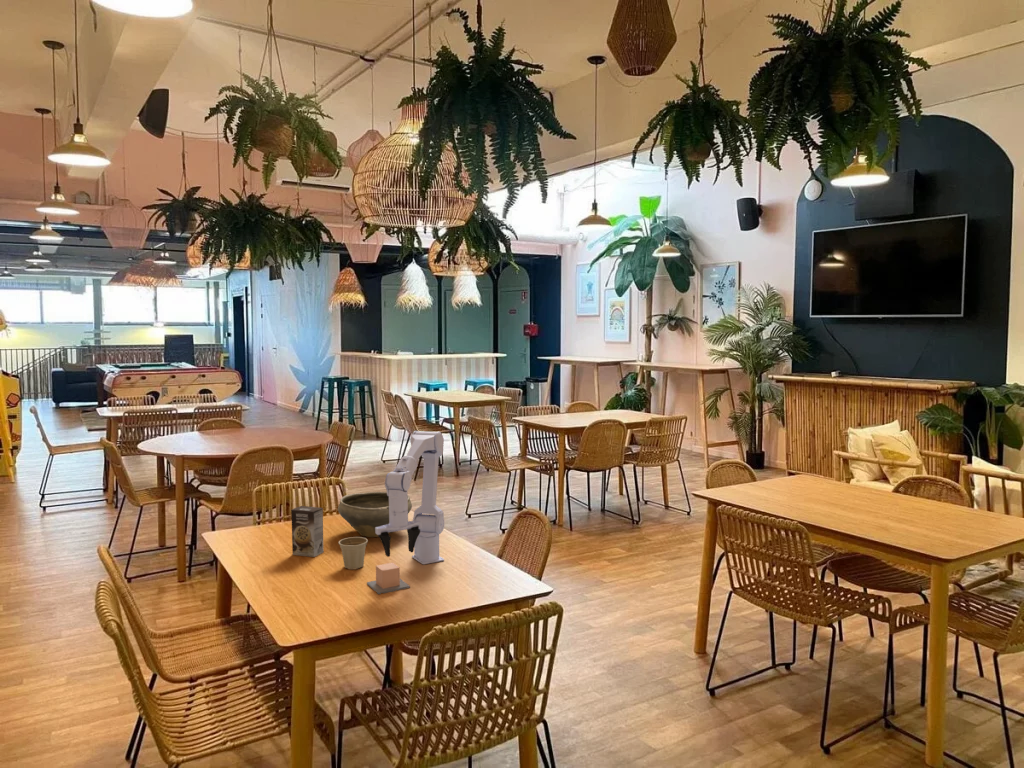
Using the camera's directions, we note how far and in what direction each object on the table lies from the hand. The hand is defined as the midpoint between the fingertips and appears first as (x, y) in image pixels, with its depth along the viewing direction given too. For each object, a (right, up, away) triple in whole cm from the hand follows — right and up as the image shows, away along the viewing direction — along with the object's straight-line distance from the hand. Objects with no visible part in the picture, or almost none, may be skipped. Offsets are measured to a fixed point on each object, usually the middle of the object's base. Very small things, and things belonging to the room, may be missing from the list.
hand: (399, 553), depth 225 cm
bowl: (-18, -5, +55) cm, 58 cm away
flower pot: (-18, -8, +17) cm, 26 cm away
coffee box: (-37, -7, +31) cm, 49 cm away
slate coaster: (-3, -10, -1) cm, 10 cm away
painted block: (-3, -9, -1) cm, 10 cm away
